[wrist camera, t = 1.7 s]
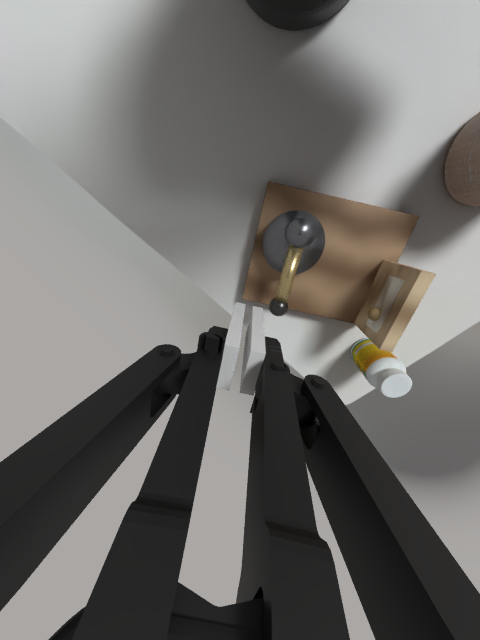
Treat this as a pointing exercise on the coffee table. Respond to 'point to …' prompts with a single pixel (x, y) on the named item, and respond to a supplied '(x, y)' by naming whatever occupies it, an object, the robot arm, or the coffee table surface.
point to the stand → (346, 265)
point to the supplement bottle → (381, 368)
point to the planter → (465, 165)
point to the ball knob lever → (291, 251)
